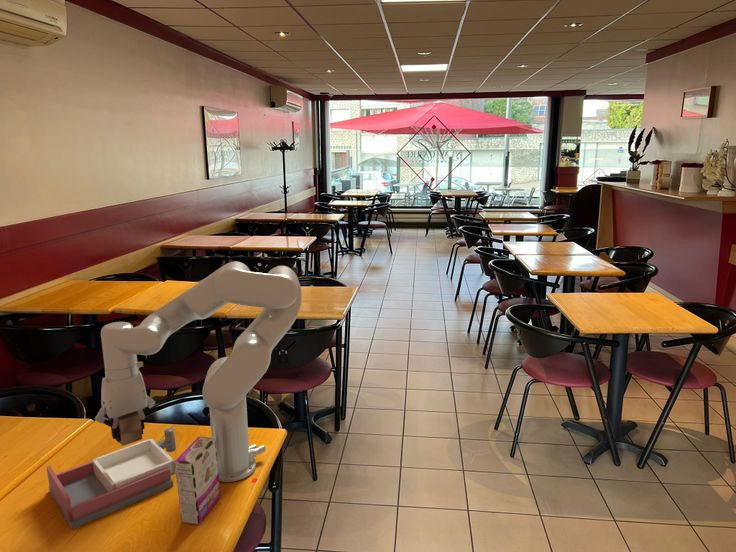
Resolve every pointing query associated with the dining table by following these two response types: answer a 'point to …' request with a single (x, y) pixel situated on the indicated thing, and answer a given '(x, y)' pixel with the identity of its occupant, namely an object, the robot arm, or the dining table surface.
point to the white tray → (135, 462)
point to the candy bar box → (198, 480)
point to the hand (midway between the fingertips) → (128, 435)
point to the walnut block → (130, 428)
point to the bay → (98, 493)
